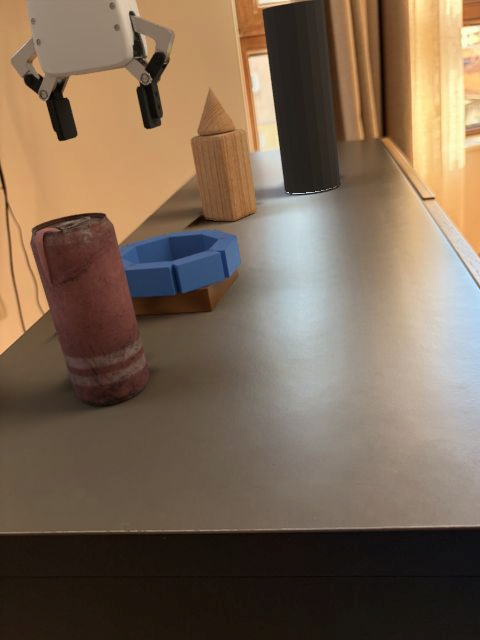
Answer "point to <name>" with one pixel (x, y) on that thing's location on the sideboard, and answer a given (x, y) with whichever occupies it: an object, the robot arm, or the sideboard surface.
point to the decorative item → (222, 165)
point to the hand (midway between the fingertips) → (110, 133)
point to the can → (91, 307)
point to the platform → (185, 299)
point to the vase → (302, 95)
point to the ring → (179, 262)
